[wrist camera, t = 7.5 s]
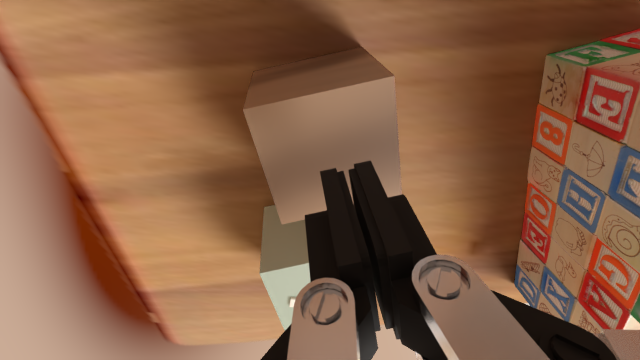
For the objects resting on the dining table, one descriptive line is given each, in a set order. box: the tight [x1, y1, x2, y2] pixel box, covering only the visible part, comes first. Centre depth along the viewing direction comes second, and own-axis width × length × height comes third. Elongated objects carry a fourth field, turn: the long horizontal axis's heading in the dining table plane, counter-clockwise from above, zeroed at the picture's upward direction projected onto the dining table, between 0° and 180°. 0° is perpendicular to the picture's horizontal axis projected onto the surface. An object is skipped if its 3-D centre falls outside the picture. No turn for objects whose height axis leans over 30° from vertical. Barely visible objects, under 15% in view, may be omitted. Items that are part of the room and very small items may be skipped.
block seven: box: [260, 205, 311, 330], centre depth 21 cm, size 6×6×6 cm
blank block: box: [243, 47, 402, 224], centre depth 17 cm, size 6×6×6 cm
